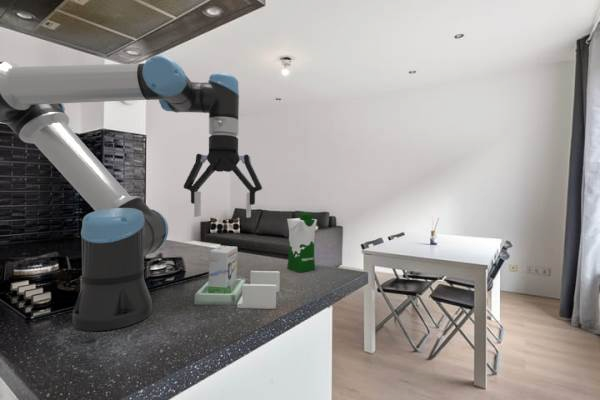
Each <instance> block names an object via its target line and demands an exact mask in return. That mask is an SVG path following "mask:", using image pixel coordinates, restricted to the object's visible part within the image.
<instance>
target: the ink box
mask: <svg viewBox="0 0 600 400" xmlns="http://www.w3.org/2000/svg"><path fill="white" fill-rule="evenodd" d="M208 254H209V257H208V263H209V264H208V281H209V282H208V281H207V282H208V293H215V294H230V293H231V292H232V291H233V290H234V289H235V288H236V282H237V279H238V246H229V245H219V246H217V247H215V248H213V249H211V250H210V251H209V253H208Z"/></svg>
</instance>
